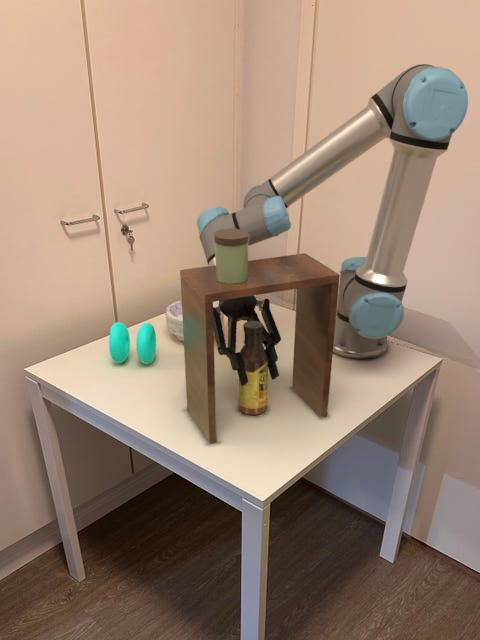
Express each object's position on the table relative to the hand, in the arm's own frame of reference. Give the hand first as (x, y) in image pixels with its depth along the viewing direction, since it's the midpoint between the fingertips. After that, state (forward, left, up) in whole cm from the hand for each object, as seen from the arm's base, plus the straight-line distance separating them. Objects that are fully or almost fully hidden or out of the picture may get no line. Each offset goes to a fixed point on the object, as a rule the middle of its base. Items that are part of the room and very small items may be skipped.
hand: (260, 380), depth 131 cm
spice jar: (+6, +2, +23) cm, 23 cm away
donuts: (+29, -27, -9) cm, 41 cm away
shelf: (+1, -1, -9) cm, 9 cm away
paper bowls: (+14, -41, -9) cm, 45 cm away
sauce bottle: (+1, -3, -9) cm, 10 cm away
